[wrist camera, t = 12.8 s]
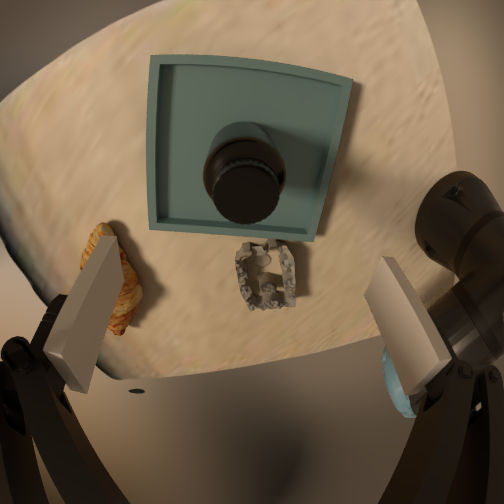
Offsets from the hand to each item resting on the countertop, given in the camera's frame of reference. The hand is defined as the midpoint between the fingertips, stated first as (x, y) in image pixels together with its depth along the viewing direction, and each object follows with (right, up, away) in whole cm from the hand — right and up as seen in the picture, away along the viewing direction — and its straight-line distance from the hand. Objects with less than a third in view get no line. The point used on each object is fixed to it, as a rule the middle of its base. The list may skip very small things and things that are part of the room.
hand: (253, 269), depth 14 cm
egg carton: (+2, -1, +27) cm, 27 cm away
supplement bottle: (-1, +12, +16) cm, 20 cm away
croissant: (-21, -3, +27) cm, 34 cm away
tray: (-1, +12, +16) cm, 21 cm away
